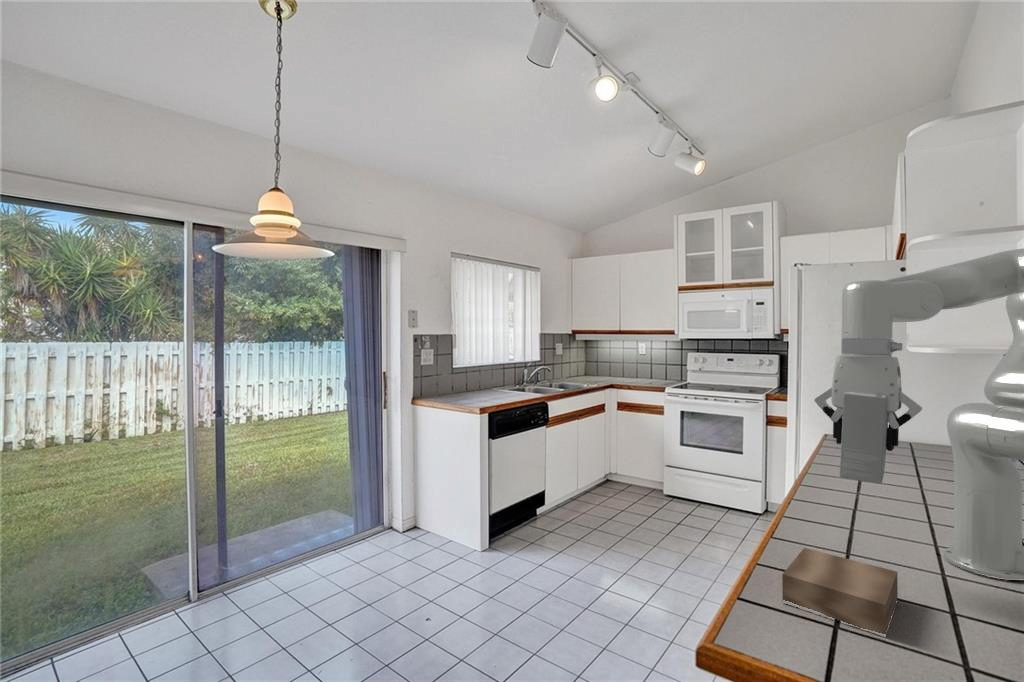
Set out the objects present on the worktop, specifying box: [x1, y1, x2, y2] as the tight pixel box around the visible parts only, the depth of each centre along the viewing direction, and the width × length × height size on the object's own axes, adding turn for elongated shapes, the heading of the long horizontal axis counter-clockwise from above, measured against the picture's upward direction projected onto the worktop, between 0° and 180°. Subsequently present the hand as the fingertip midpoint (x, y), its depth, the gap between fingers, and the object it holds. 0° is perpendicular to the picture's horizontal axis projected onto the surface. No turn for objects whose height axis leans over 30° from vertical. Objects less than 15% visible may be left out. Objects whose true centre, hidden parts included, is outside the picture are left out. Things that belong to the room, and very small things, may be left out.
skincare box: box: [838, 392, 889, 485], centre depth 90 cm, size 8×7×16 cm
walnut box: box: [781, 547, 899, 634], centre depth 83 cm, size 14×14×5 cm
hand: (864, 445), depth 90 cm, fingers closed on skincare box, 6 cm apart
